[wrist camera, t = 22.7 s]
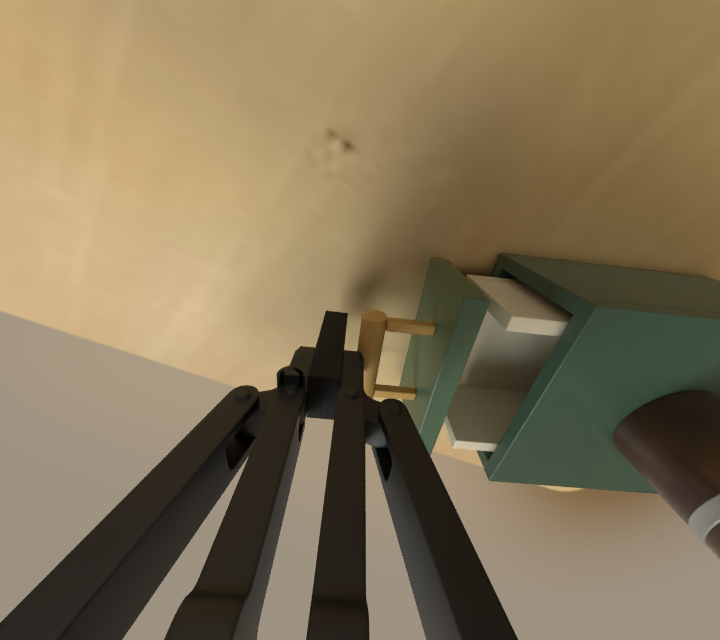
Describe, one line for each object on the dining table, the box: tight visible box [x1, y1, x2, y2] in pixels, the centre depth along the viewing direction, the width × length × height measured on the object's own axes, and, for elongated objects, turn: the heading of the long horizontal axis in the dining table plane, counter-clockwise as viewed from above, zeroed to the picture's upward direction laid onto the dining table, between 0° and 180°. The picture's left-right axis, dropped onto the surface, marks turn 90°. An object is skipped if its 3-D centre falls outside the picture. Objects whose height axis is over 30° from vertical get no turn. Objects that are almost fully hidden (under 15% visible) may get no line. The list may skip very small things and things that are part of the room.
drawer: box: [357, 258, 574, 455], centre depth 16 cm, size 18×11×6 cm, turn 84°
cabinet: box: [477, 254, 720, 494], centre depth 17 cm, size 15×12×8 cm
